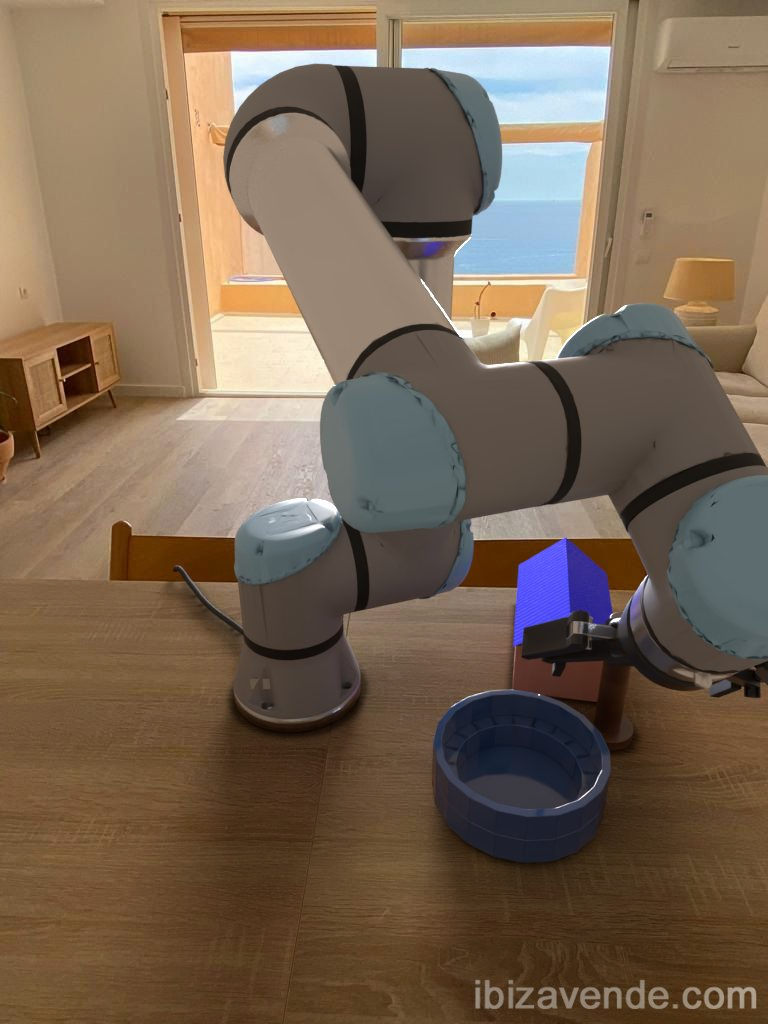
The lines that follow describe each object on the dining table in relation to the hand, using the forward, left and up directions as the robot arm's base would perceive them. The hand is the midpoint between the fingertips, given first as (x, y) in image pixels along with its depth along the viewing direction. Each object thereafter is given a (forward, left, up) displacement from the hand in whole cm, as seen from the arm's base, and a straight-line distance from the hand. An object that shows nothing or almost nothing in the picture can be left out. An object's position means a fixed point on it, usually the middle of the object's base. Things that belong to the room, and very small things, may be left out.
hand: (633, 671), depth 63 cm
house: (-22, +9, -15) cm, 29 cm away
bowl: (-3, -9, -15) cm, 18 cm away
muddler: (-7, +5, -15) cm, 18 cm away
